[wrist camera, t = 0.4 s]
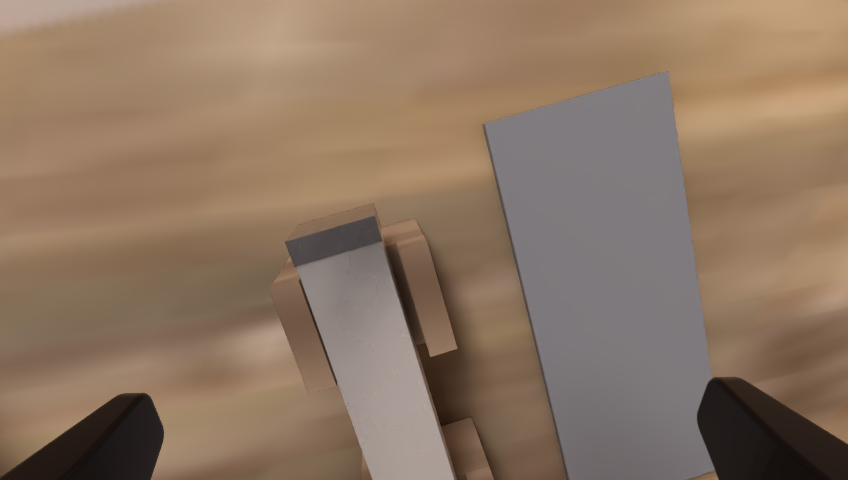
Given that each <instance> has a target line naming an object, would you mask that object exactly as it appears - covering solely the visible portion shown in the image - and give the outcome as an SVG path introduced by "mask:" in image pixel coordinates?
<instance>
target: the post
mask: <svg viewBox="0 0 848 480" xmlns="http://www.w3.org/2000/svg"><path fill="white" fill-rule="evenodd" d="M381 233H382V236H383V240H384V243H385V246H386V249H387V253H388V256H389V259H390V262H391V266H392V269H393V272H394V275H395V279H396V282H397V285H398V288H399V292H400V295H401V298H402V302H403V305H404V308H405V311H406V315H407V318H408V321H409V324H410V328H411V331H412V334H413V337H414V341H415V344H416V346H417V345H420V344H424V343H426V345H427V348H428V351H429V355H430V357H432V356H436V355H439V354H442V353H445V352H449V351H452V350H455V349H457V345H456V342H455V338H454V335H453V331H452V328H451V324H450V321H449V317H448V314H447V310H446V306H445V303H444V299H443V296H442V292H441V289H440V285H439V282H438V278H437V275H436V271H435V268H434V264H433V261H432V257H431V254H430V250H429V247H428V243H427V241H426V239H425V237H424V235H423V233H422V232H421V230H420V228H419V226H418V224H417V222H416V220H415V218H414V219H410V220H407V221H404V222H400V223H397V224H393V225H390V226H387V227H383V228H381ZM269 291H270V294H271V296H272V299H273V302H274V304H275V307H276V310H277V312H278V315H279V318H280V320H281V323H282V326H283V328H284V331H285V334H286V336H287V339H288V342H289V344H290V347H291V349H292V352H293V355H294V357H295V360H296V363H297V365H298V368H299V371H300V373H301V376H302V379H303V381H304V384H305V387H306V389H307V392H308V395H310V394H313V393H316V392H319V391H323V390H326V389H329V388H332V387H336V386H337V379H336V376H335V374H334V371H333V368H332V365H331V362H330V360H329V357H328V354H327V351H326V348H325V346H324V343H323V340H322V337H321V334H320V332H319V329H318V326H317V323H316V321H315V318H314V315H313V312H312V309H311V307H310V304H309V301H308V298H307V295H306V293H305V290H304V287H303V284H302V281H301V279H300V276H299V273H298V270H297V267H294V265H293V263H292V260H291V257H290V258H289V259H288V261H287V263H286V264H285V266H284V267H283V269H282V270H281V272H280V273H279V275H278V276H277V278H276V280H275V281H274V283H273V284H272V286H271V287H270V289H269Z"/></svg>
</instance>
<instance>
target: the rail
mask: <svg viewBox="0 0 848 480" xmlns="http://www.w3.org/2000/svg"><path fill="white" fill-rule="evenodd" d="M285 243H286V246H287V249H288V251H289V254H290V257H291V260H292V263H293V265H294V267H297V270H298V273H299V276H300V279H301V281H302V284H303V287H304V290H305V293H306V295H307V298H308V301H309V304H310V307H311V309H312V312H313V315H314V318H315V321H316V323H317V326H318V329H319V332H320V334H321V337H322V340H323V343H324V346H325V348H326V351H327V354H328V357H329V360H330V362H331V365H332V368H333V371H334V374H335V376H336V379H337V382H338V385H339V388H340V390H341V393H342V396H343V399H344V402H345V404H346V407H347V410H348V413H349V415H350V418H351V421H352V424H353V427H354V429H355V432H356V435H357V438H358V441H359V443H360V446H361V449H362V452H363V455H364V457H365V460H366V463H367V466H368V469H369V471H370V474H371V477H372V480H457V478H456V474H455V471H454V468H453V465H452V461H451V458H450V455H449V452H448V448H447V445H446V442H445V439H444V435H443V432H442V429H441V426H440V422H439V419H438V416H437V412H436V409H435V406H434V403H433V399H432V396H431V393H430V390H429V386H428V383H427V380H426V377H425V373H424V370H423V367H422V364H421V360H420V357H419V354H418V350H417V347H416V344H415V341H414V337H413V334H412V331H411V328H410V324H409V321H408V318H407V315H406V311H405V308H404V305H403V302H402V298H401V295H400V292H399V288H398V285H397V282H396V279H395V275H394V272H393V269H392V266H391V262H390V259H389V256H388V253H387V249H386V246H385V243H384V240H383V236H382V233H381V225H380V221H379V218H378V215H377V212H376V208H375V205H374V203H371V204H368V205H364V206H361V207H358V208H354V209H351V210H347V211H344V212H340V213H337V214H334V215H330V216H327V217H323V218H320V219H316V220H313V221H310V222H306V223H303V224H299V225H298V226H297V227H296V229H295V230H294V231H293V232H292V234H291V235H290V236H289V237H288V239H287V240H286V241H285Z"/></svg>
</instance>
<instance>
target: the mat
mask: <svg viewBox="0 0 848 480" xmlns="http://www.w3.org/2000/svg"><path fill="white" fill-rule="evenodd" d="M483 128H484V133H485V137H486V141H487V145H488V149H489V154H490V158H491V162H492V166H493V170H494V174H495V179H496V183H497V187H498V191H499V195H500V199H501V204H502V208H503V212H504V216H505V220H506V225H507V229H508V233H509V237H510V241H511V245H512V250H513V254H514V258H515V262H516V266H517V271H518V275H519V279H520V283H521V287H522V291H523V296H524V300H525V304H526V308H527V312H528V317H529V321H530V325H531V329H532V333H533V337H534V342H535V346H536V350H537V354H538V358H539V362H540V367H541V371H542V375H543V379H544V383H545V388H546V392H547V396H548V400H549V404H550V408H551V413H552V417H553V421H554V425H555V429H556V434H557V438H558V442H559V446H560V450H561V454H562V459H563V463H564V467H565V471H566V475H567V479H568V480H687V479H690V478H693V477H696V476H699V475H702V474H705V473H708V472H711V471H714V470H715V468H714V466H713V463H712V461H711V458H710V456H709V453H708V451H707V448H706V446H705V443H704V441H703V438H702V436H701V433H700V431H699V428H698V424H697V412H698V409H699V406H700V403H701V400H702V397H703V394H704V392H705V389H706V386H707V383H708V381H710V380H711V379H712V375H711V368H710V361H709V354H708V347H707V340H706V333H705V326H704V319H703V312H702V305H701V298H700V291H699V284H698V277H697V270H696V263H695V256H694V249H693V242H692V235H691V228H690V221H689V214H688V207H687V200H686V193H685V186H684V179H683V172H682V165H681V158H680V151H679V144H678V137H677V130H676V123H675V116H674V109H673V102H672V95H671V88H670V81H669V74H668V71H667V72H663V73H659V74H656V75H652V76H649V77H645V78H642V79H638V80H635V81H631V82H628V83H624V84H621V85H617V86H614V87H610V88H607V89H603V90H600V91H596V92H593V93H590V94H586V95H583V96H579V97H576V98H572V99H569V100H565V101H562V102H558V103H555V104H551V105H548V106H544V107H541V108H537V109H534V110H530V111H527V112H523V113H520V114H516V115H513V116H509V117H506V118H503V119H499V120H496V121H492V122H489V123H485V124H483Z"/></svg>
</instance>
